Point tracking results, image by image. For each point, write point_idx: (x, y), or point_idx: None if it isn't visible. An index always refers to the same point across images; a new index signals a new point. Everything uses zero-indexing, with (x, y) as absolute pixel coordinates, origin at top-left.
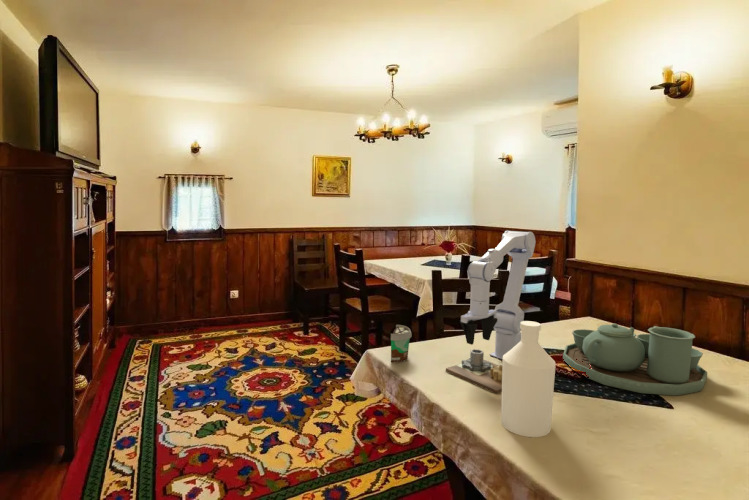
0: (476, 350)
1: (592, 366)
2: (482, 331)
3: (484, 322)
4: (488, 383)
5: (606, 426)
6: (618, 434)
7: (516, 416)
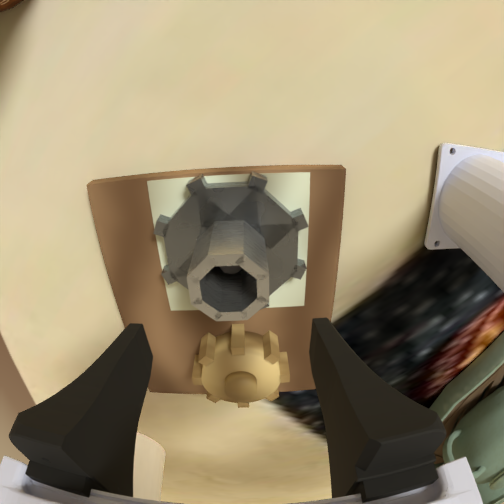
0: (246, 269)
1: (476, 397)
2: (328, 349)
3: (346, 434)
4: (157, 361)
5: (243, 481)
6: (236, 487)
7: None
